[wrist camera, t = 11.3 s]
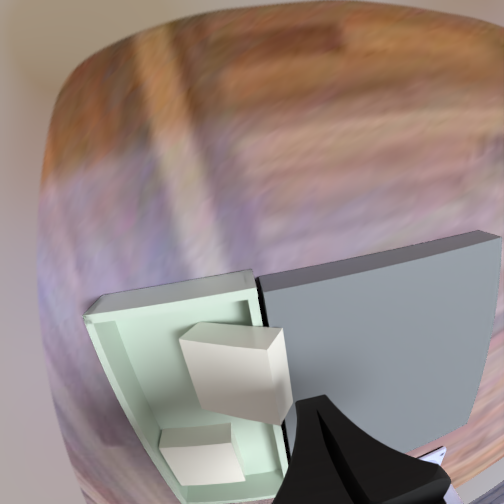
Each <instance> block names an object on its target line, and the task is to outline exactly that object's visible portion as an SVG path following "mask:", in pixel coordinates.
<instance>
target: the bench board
mask: <svg viewBox="0 0 504 504" xmlns="http://www.w3.org/2000/svg"><path fill="white" fill-rule="evenodd" d="M501 251H502V237H500V236H497V235H494V234H490V233H487V232H483V231H480V230H478V231H473V232H469V233H465V234H461V235H456V236H452V237H448V238H443V239H439V240H434V241H430V242H425V243H421V244H416V245H412V246H407V247H403V248H398V249H393V250H389V251H384V252H379V253H375V254H370V255H365V256H360V257H355V258H351V259H346V260H341V261H336V262H331V263H326V264H321V265H316V266H311V267H306V268H301V269H296V270H290V271H285V272H280V273H275V274H269V275H264V276H259V281H260V286H261V292H262V298H263V304H264V309H265V315H266V321H267V327H272V328H283V334H284V341H285V348H286V355H287V362H288V369H289V376H290V383H291V390H292V397H293V403H292V405H291V407H290V409H289V411H288V413H287V415H286V417H285V418H284V425H285V431H286V437H287V443H288V449H289V455H290V459H291V456H292V452H293V447H294V442H295V436H296V426H297V415H296V408H295V402H296V401H298V400H302V399H307V398H311V397H315V396H319V395H323V394H325V395H327V396H328V397H329V399H330V400H331V401H332V402H333V403H334V404H335V406H336V407H337V408H338V409H339V410H340V411H341V412H342V413H343V414H344V415H345V416H347V417H348V418H349V419H350V420H351V421H352V422H353V423H354V424H356V425H357V426H358V427H359V428H361V429H362V430H363V431H365V432H366V433H367V434H369V435H370V436H372V437H373V438H375V439H376V440H378V441H380V442H381V443H383V444H385V445H387V446H389V447H390V448H393V449H395V450H397V451H399V452H402V453H406V452H409V451H411V450H414V449H416V448H418V447H420V446H423V445H425V444H427V443H429V442H431V441H434V440H436V439H438V438H440V437H442V436H444V435H446V434H448V433H450V432H452V431H454V430H456V429H458V428H459V427H461V426H463V425H465V424H467V422H468V419H469V416H470V413H471V410H472V407H473V404H474V401H475V398H476V395H477V391H478V388H479V385H480V381H481V377H482V374H483V370H484V366H485V362H486V358H487V353H488V349H489V344H490V339H491V334H492V329H493V323H494V318H495V311H496V304H497V297H498V288H499V279H500V267H501Z"/></svg>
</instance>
